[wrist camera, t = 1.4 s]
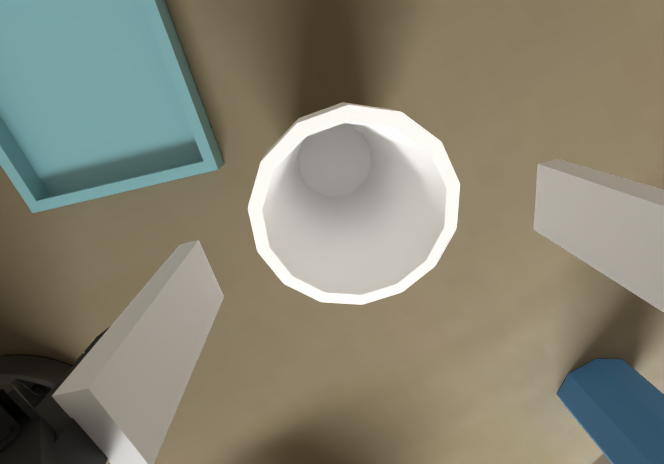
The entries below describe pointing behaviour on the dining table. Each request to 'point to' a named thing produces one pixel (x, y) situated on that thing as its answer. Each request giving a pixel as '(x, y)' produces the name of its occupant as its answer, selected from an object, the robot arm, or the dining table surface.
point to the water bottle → (617, 410)
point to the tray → (96, 100)
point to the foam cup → (354, 204)
